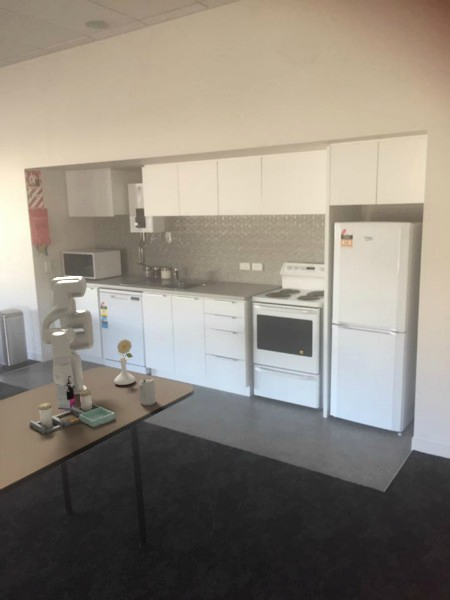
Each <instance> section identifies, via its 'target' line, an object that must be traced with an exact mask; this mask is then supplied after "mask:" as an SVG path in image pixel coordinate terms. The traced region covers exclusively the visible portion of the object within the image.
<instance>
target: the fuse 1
mask: <svg viewBox="0 0 450 600" xmlns="http://www.w3.org/2000/svg"><path fill="white" fill-rule="evenodd" d="M38 410H39V412H38V413H39V419H40V420H39V421H40V422H41V424H40V425H41V426H43V427H45V428H46V430H47V429H50V428H53V427H54V423H53V419H52V415H53V413H52V403H50V402H45V403H41V404H39V405H38Z"/></svg>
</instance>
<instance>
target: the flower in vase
mask: <svg viewBox="0 0 450 600" xmlns="http://www.w3.org/2000/svg"><path fill="white" fill-rule="evenodd" d="M132 347H133V346H132V341H130V340H128V339H127V338H126V339H122V340H120V341H119V342H118V344H117V347H116V348H117V352H118V355H120V356H122V357H120V358H118V361H119V362H120V366H121V372H120V373H119V374H118V375H117V376H116V377H115V378H114V380H113V382H114V384H116V385H120V386H127V385H130V384H132V383H134V382H135V381H136V378H135V376H134V375H132V374H130V373H129V372H128V371H127V367H126V366H127V362H128V359H129V358H133V357H134V355H132V353H131V352H130V350H131V348H132Z"/></svg>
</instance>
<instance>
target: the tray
mask: <svg viewBox="0 0 450 600" xmlns="http://www.w3.org/2000/svg"><path fill="white" fill-rule="evenodd" d="M78 418H79V419H80V421H79V422H81V423H82V424H85V425H87V426H89V427H91V428H97V427H99V426H102V425H104V424H107V423H109V422H111V421H114V420H116V415H115V412H114V411H110V410H109V409H107V408H104V407H102V406H100V407H99V408H96V409H93V410H91V411H88V412H85V413H82V414H79V416H78Z"/></svg>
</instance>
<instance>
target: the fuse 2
mask: <svg viewBox="0 0 450 600" xmlns="http://www.w3.org/2000/svg"><path fill="white" fill-rule="evenodd" d="M79 396H80V397H79V400H80V407H81V411H83V412H88V411H91V410H93V409H92V403H93V399H92V398H93V397H92V390H90V389H87V390H83V391H81V392H80V394H79Z"/></svg>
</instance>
